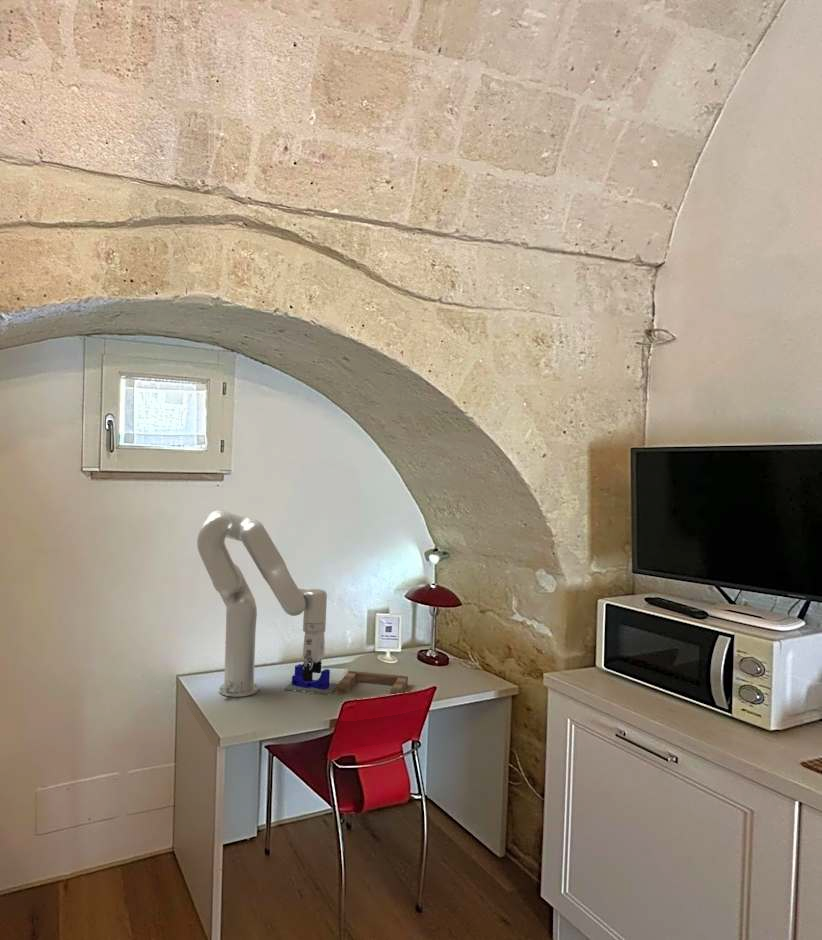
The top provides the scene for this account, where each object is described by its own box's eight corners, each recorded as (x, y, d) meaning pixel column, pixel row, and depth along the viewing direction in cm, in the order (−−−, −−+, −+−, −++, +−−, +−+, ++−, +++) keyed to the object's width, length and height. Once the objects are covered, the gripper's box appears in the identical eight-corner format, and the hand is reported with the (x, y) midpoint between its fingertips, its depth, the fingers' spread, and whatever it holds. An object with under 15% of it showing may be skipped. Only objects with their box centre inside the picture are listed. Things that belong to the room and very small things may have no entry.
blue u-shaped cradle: (291, 684, 246) (292, 667, 246) (299, 681, 250) (299, 664, 250) (322, 691, 241) (322, 673, 241) (329, 687, 245) (329, 669, 245)
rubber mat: (330, 694, 240) (331, 693, 240) (284, 690, 242) (284, 688, 242) (339, 685, 249) (339, 683, 249) (294, 681, 252) (294, 679, 252)
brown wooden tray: (399, 699, 238) (399, 690, 238) (336, 693, 241) (337, 684, 241) (407, 684, 253) (407, 676, 253) (349, 679, 257) (349, 670, 256)
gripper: (317, 633, 236) (314, 686, 237) (332, 621, 253) (329, 670, 254) (295, 631, 237) (292, 683, 238) (311, 620, 254) (309, 668, 255)
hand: (311, 676), depth 246 cm, fingers open, 9 cm apart
